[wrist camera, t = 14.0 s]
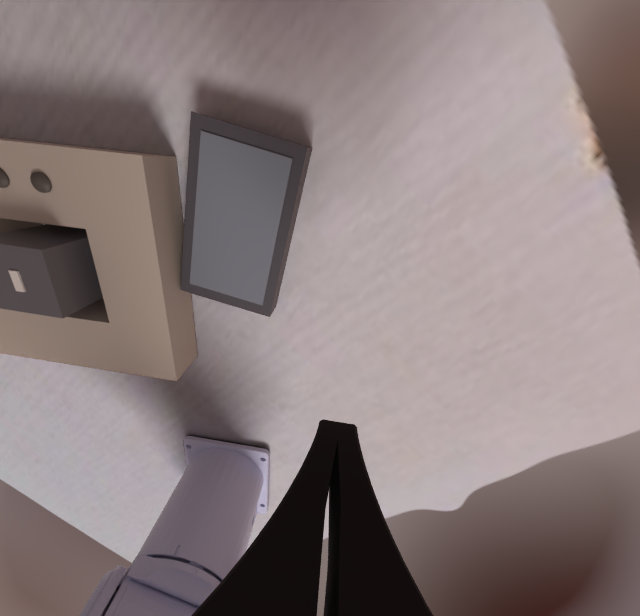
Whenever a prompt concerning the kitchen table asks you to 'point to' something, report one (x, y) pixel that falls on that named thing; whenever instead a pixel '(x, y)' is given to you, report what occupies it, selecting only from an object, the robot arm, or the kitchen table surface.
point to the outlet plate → (104, 256)
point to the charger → (47, 271)
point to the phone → (239, 212)
